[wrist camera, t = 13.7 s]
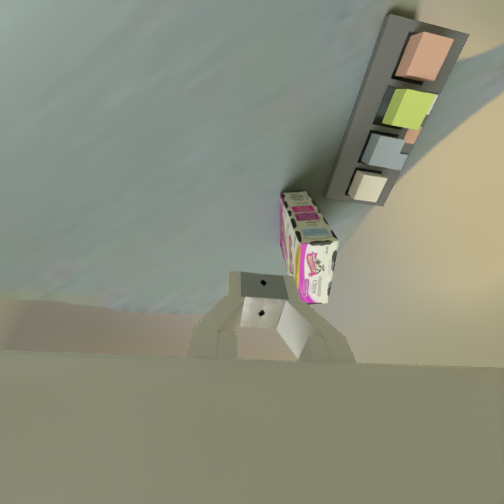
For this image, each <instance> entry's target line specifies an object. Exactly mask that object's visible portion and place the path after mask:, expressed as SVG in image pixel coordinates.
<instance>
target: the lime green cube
mask: <svg viewBox="0 0 504 504" xmlns="http://www.w3.org/2000/svg"><path fill="white" fill-rule="evenodd" d="M434 97H435V95H433V94H429V93H424V92H419V91H415V90H410V89H395V92H394V94H393V97H392V99H391V102H390V104H389V106H388V109H387V111H386V114H385V116H384V119H383V121H382V123H384V124H388V125H393V126H398V127H404V128H409V129H414V130H419V128H420V126H421V124H422V122H423V120H424V118H425V116H426V113H427V111H428V109H429V107H430V105H431V103H432V101H433V99H434Z"/></svg>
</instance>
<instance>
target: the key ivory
mask: <svg viewBox="0 0 504 504" xmlns="http://www.w3.org/2000/svg"><path fill="white" fill-rule="evenodd" d="M387 179H388V178H386V177H384V176H383V175H381V174H378V173H371V172H365V171H359V170H357V172H356V174H355V177H354V179H353V182H352V184H351V187H350V189H349V192H348V194H349V195H350V196H351V197H352V198H353V199H355V200H363V201H370V202H377V199H378V197H379V195H380V193H381V191H382V189H383V187H384V185H385V183H386V181H387Z"/></svg>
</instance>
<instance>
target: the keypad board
mask: <svg viewBox="0 0 504 504" xmlns="http://www.w3.org/2000/svg"><path fill="white" fill-rule="evenodd" d="M421 32H428V33H432V34H436V35H439V36H443V37H447V38H451V39H454V41H453V43H452V45H451V47H450V49H449V51H448V53H447V56H446V58H445V60H444V62H443V64H442V66H441V68H440V70H439V72H438V74H437V76H436V78H435V80H434V81H418V83H417V84H413V83H408V82H404V81H399V80H394V79H390V78H391V76H392V73H393V71H394V68H395V66H396V63H397V61H398V58H399V55H400V53H401V50H402V48H403V45H404V43H405V40H406V38H407V35H408V34H410V35H415V34H418V33H421ZM468 37H469V34H465V33H462V32H458V31H454V30H451V29H447V28H443V27H439V26H435V25H431V24H427V23H424V22H420V21H416V20H412V19H409V18H405V17H401V16H397V15H393V14H389V15H387V16H385V18H384V21H383V24H382V27H381V30H380V33H379V36H378V38H377V41H376V44H375V47H374V50H373V53H372V56H371V59H370V62H369V65H368V68H367V70H366V73H365V76H364V79H363V82H362V85H361V88H360V91H359V94H358V97H357V100H356V103H355V105H354V108H353V111H352V114H351V117H350V120H349V123H348V126H347V129H346V132H345V135H344V138H343V140H342V143H341V146H340V149H339V152H338V155H337V158H336V161H335V164H334V167H333V170H332V173H331V175H330V178H329V181H328V184H327V187H326V190H325V193H324V197H325V198H326V199H333V200H340V201H348V202H355V203H362V204H370V205H377V206H383V205H384V203H385V202H386V200H387V197H388V196H389V194H390V191H391V190H392V188H393V186H394V184H395V182H396V180H397V178H398V176H399V174H400V172H401V170H402V168H403V166H404V164H405V162H406V160H407V158H408V156H409V154H410V152H411V150H412V148H413V146H414V144H415V142H416V140H417V138H418V136H419V134H420V132H421V130H422V128H423V126H424V124H425V122H426V120H427V118H428V116H429V114H430V112H431V110H432V108H433V106H434V104H435V102H436V100H437V98H438V96H439V94H440V92H441V90H442V88H443V86H444V84H445V82H446V80H447V78H448V76H449V74H450V72H451V70H452V68H453V66H454V64H455V62H456V60H457V58H458V56H459V54H460V53H461V50H462V48H463V47H464V44H465V43H466V41H467V39H468ZM387 86H390V87H395V88H399V89H410V90H415V91H419V92H424V93H429V94H433V95H435V97H434V99H433V101H432V103H431V105H430V107H429V109H428V111H427V113H426V116H425V118H424V120H423V122H422V124H421V126H420V128H419V130H414V129H409V128H404V127H398V128H397V129H396V128H390V127H385V126H380V125H374V124H373V121H374V119H375V116H376V114H377V111H378V109H379V106H380V104H381V101H382V99H383V96H384V94H385V91H386V88H387ZM370 130H375V131H381V132H386V133H391V134H394V137H396V138H399V139H403V140H406V141H405V143H404V145H403V147H402V149H401V152H400V154H399V156H398V158H397V160H396V162H395V164H394V166H393V168H392V169H391V168H385V167H379V166H373V165H368V164H366V163H364V162H358V159H359V157H360V154H361V152H362V149H363V147H364V144H365V142H366V139H367V137H368V134H369V132H370ZM355 167H358V168H364V169H370V170H377V171H378V172H377V173H378V174H381V175H383V176H384V177H386V178H388V179H387V181H386V183H385V185H384V187H383V189H382V191H381V193H380V195H379V197H378V199H377V202H370V201H363V200H355V199H353V198H352V197H351V196H350V195H349V194H346V193H345V192H346V190H347V187H348V185H349V182H350V180H351V177H352V175H353V172H354V170H355Z"/></svg>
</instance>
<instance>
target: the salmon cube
mask: <svg viewBox="0 0 504 504" xmlns="http://www.w3.org/2000/svg"><path fill="white" fill-rule="evenodd" d="M453 41H454V39H451V38H447V37H443V36H439V35H436V34H432V33H428V32H421V33H418V34H415V35H412V36H411V37H410V39H409V42H408V44H407V47H406V49H405V52H404V54H403V57H402V59H401V62H400V64H399V67H398V69H397V72H396V74H395V76H399V77H404V78H408V79H413V80H417V81H434V80H435V78H436V76H437V74H438V72H439V70H440V68H441V66H442V64H443V62H444V60H445V58H446V56H447V53H448V51H449V49H450V47H451V45H452V43H453Z"/></svg>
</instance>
